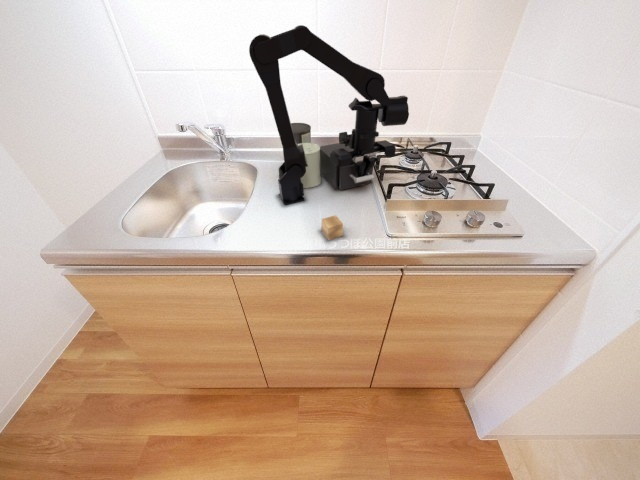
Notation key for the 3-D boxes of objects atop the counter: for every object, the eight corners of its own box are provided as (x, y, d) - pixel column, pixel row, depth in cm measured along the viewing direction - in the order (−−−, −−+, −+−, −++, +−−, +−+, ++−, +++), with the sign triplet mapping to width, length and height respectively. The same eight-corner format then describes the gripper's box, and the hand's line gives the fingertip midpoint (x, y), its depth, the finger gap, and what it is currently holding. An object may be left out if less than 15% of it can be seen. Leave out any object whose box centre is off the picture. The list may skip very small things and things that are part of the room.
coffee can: (290, 174, 90) (286, 133, 81) (281, 163, 97) (277, 125, 88) (316, 168, 93) (315, 128, 84) (306, 158, 101) (304, 121, 91)
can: (302, 190, 81) (299, 154, 73) (289, 179, 87) (285, 145, 79) (326, 183, 85) (326, 147, 77) (312, 172, 91) (310, 139, 83)
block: (328, 240, 62) (328, 227, 60) (321, 231, 65) (321, 218, 63) (342, 236, 63) (343, 223, 61) (335, 227, 66) (335, 214, 64)
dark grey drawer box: (369, 181, 85) (372, 155, 79) (335, 189, 81) (336, 163, 75) (348, 165, 95) (350, 140, 89) (318, 171, 91) (317, 146, 85)
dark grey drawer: (379, 189, 79) (383, 167, 74) (347, 197, 76) (349, 175, 71) (351, 166, 92) (353, 146, 87) (323, 172, 89) (323, 152, 84)
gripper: (378, 115, 75) (372, 164, 86) (321, 123, 70) (322, 175, 80) (401, 125, 67) (392, 178, 78) (339, 135, 62) (338, 191, 72)
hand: (360, 180), depth 77 cm, fingers closed
